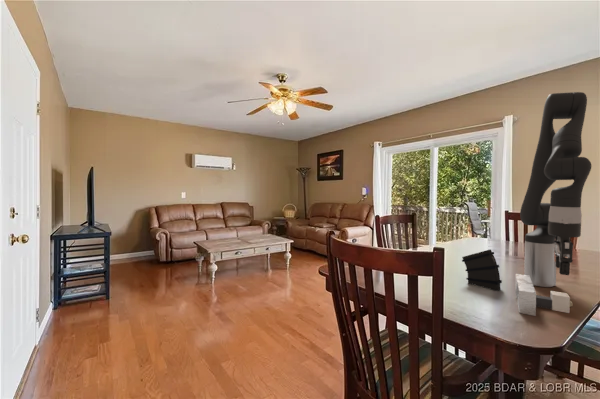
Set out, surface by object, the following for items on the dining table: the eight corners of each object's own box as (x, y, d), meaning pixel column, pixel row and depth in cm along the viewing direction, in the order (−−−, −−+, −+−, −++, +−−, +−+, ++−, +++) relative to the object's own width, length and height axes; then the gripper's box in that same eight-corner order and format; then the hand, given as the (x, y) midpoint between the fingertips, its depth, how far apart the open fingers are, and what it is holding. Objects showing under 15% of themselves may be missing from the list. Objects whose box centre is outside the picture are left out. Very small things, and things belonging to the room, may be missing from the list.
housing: (518, 312, 86) (519, 290, 86) (515, 292, 104) (515, 273, 104) (535, 316, 84) (536, 293, 84) (529, 294, 102) (529, 275, 102)
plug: (520, 304, 93) (520, 289, 93) (519, 300, 97) (519, 286, 96) (572, 313, 86) (573, 297, 86) (570, 309, 89) (570, 293, 89)
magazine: (506, 289, 103) (487, 250, 108) (472, 294, 113) (456, 258, 118) (511, 287, 105) (492, 248, 110) (476, 292, 115) (461, 257, 120)
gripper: (546, 217, 96) (544, 264, 97) (551, 222, 84) (549, 274, 85) (576, 219, 91) (574, 267, 92) (586, 224, 80) (583, 279, 81)
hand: (562, 271), depth 89 cm, fingers open, 8 cm apart
